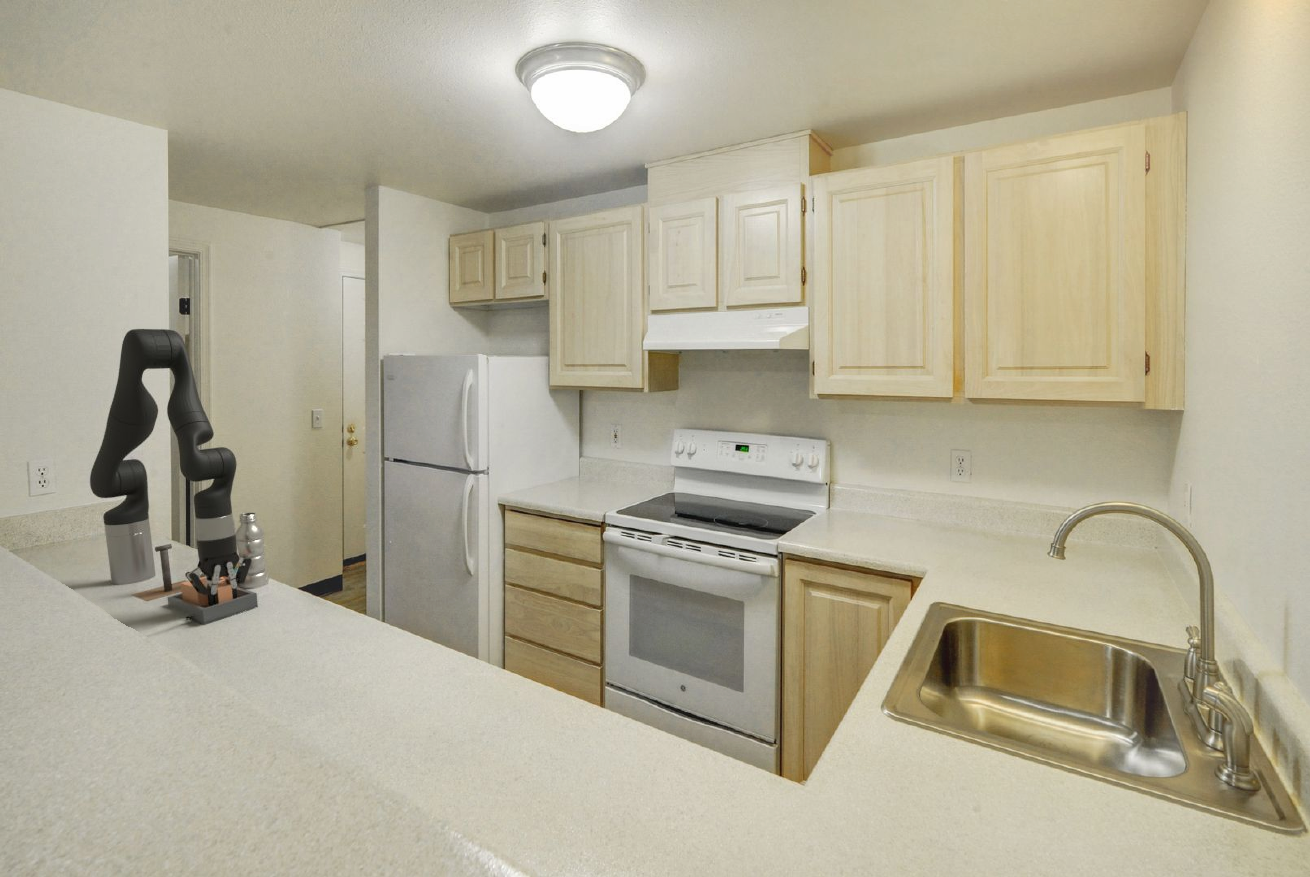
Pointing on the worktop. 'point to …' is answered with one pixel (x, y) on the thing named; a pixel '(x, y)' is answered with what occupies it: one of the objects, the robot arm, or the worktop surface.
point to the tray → (215, 607)
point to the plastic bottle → (252, 550)
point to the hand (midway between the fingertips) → (223, 605)
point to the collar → (201, 599)
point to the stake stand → (168, 586)
